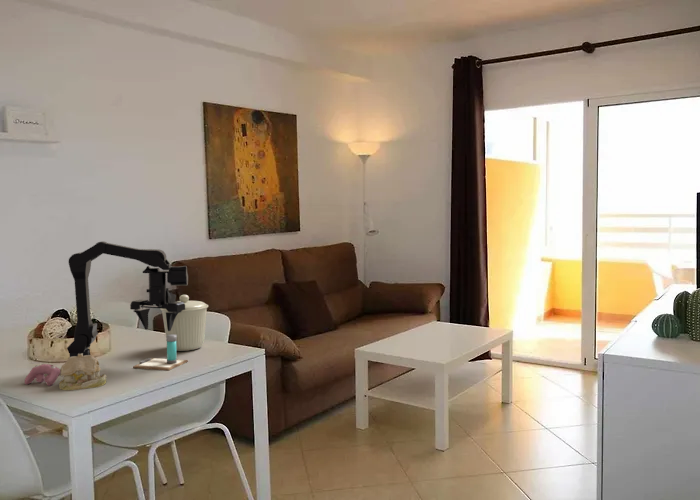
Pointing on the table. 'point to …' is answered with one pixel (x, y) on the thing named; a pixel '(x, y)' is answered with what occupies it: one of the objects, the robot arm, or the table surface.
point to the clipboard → (158, 364)
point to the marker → (171, 348)
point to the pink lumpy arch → (39, 374)
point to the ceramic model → (81, 373)
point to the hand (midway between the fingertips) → (158, 330)
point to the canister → (188, 324)
